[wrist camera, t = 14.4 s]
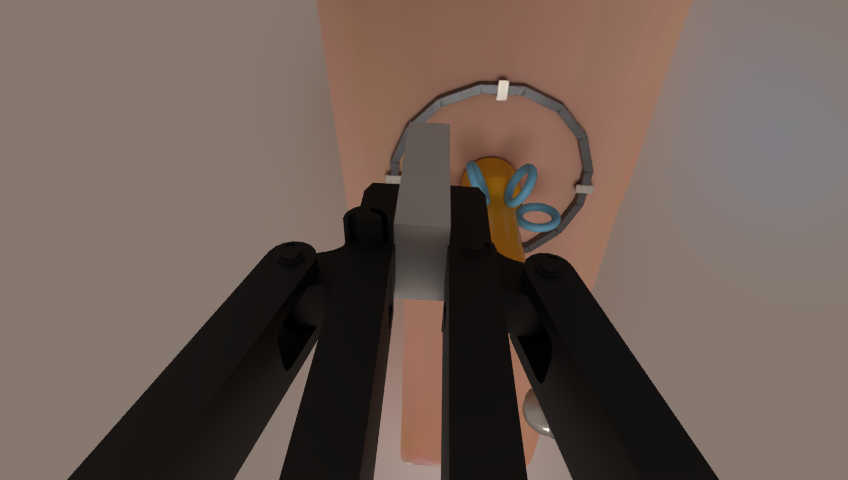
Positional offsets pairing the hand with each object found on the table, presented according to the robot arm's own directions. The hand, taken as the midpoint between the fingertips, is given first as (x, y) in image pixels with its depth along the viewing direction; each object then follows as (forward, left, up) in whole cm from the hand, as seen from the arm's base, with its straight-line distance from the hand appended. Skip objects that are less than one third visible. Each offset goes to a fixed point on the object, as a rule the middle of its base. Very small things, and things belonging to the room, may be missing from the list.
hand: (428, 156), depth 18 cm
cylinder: (+16, +6, -27) cm, 32 cm away
